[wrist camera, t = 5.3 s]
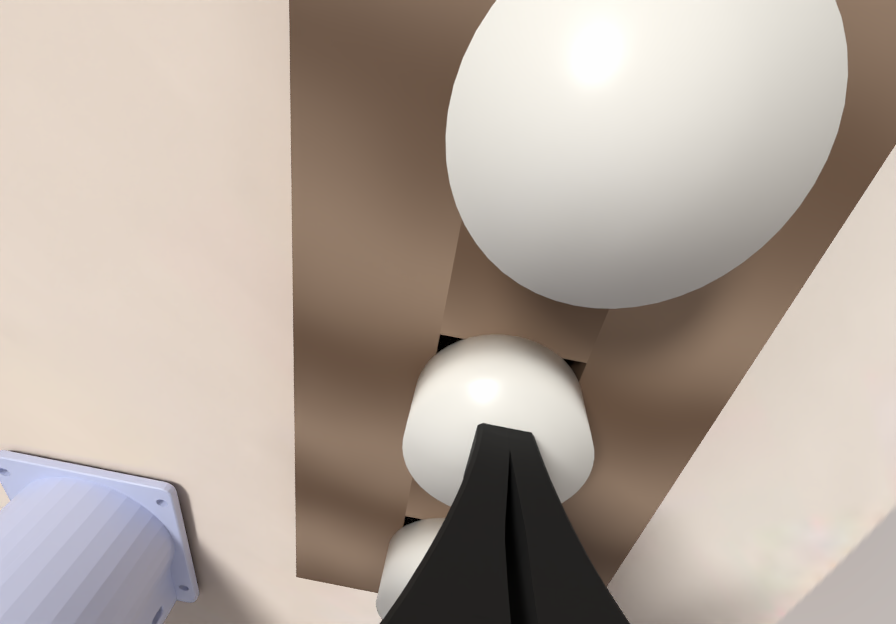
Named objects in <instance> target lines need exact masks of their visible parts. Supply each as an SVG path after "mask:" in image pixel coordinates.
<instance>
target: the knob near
mask: <svg viewBox="0 0 896 624" xmlns="http://www.w3.org/2000/svg"><path fill="white" fill-rule="evenodd" d="M847 79H848V60H847V43H846V38H845V32H844V27H843V22H842V17H841V14H840V12H839V9H838V6H837V3H836V1H835V0H496V2H495V3H494V4H493V5H492V7H491V8H490V10H489V12H488V13H487V15H486V16H485V18H484V19H483V21H482V23H481V24H480V26H479V27H478V29H477V30H476V32H475V34H474V36H473V38H472V40H471V42H470V44H469V46H468V49H467V51H466V53H465V55H464V57H463V59H462V62H461V65H460V68H459V71H458V74H457V76H456V79H455V82H454V85H453V90H452V95H451V99H450V104H449V108H448V115H447V126H446V163H447V169H448V176H449V182H450V186H451V190H452V193H453V197H454V200H455V203H456V206H457V209H458V211H459V213H460V215H461V218H462V220H463V222H464V225H465V226H466V228H467V230H468V231H469V233H470V235H471V236H472V238H473V239H474V241H475V243H476V244H477V245H478V246H479V248H480V249H481V250H482V251H483V253H484V254H485V255H486V256H487V258H488V259H489V260H490V261H491V262H492V263H494V264H495V265H496V266H497V267H498V268H499V269H500V270H501V271H502V272H503V273H504V274H506V275H507V276H509V277H510V278H511V279H513V280H514V281H516V282H517V283H518V284H520V285H522V286H524V287H526V288H527V289H529V290H531V291H533V292H535V293H537V294H539V295H542V296H544V297H547V298H549V299H552V300H555V301H559V302H562V303H566V304H570V305H574V306H581V307H589V308H605V309H618V308H630V307H638V306H644V305H649V304H654V303H659V302H662V301H666V300H669V299H672V298H676V297H679V296H682V295H684V294H686V293H689V292H691V291H694V290H696V289H699V288H701V287H703V286H705V285H707V284H709V283H710V282H712V281H714V280H716V279H718V278H720V277H722V276H723V275H725V274H726V273H728V272H729V271H731V270H733V269H734V268H736V267H737V266H739V265H740V264H742V263H743V262H744V261H746V260H747V259H748V258H749V257H751V256H752V255H753V254H754V253H755V252H757V251H758V250H759V249H760V248H762V247H763V246H764V245H765V244H766V243H767V242H768V241H769V240H770V239H771V238H772V237H773V236H774V235H775V234H776V233H777V232H778V231H779V230H780V229H781V228H782V227H783V226H784V225H785V223H786V222H787V221H788V220H789V219H790V217H791V216H792V215H793V214H794V213H795V211H796V210H797V209H798V208H799V206H800V205H801V203H802V202H803V200H804V199H805V197H806V196H807V194H808V193H809V191H810V190H811V188H812V187H813V185H814V184H815V182H816V180H817V178H818V176H819V174H820V172H821V170H822V169H823V167H824V165H825V163H826V161H827V159H828V156H829V154H830V151H831V149H832V146H833V143H834V141H835V138H836V135H837V133H838V129H839V125H840V121H841V117H842V113H843V109H844V105H845V97H846V88H847Z"/></svg>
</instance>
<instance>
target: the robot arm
mask: <svg viewBox="0 0 896 624" xmlns="http://www.w3.org/2000/svg"><path fill="white" fill-rule="evenodd" d="M0 482H1V484H2V486H3V488H4V490H5V492H6V493H7V495H8V497H9V499H10V502H9V503H8V504H7V505H5V506H4V507H3V508H2V509H1V510H0V624H163V623H164V621H165V619H166V618H167V616H168V614H169V613H170V611H171V609H172V607H173V606H174V604H175V602H176V600H178V601H183V602H190V603H191V602H195V601H196V599H197V598H198V596H199V589H198V584H197V580H196V575H195V571H194V567H193V562H192V558H191V553H190V549H189V544H188V540H187V535H186V531H185V526H184V522H183V518H182V513H181V509H180V504H179V500H178V495H177V491H176V489H175V487H174V486H173V485H171V484H169V483H167V482H164V481H158V480H153V479H148V478H143V477H138V476H133V475H128V474H123V473H118V472H113V471H108V470H103V469H98V468H93V467H88V466H82V465H77V464H72V463H67V462H62V461H57V460H52V459H47V458H42V457H37V456H32V455H27V454H22V453H17V452H11V451H6V450H0ZM380 624H630V623H629V622H628V620H627V619H626V617H625V616H624V614H623V613H622V611H621V609H620V608H619V606H618V605H617V603H616V602H615V600H614V599H613V597H612V596H611V594H610V592H609V591H608V589H607V587H606V586H605V584H604V582H603V581H602V579H601V577H600V576H599V574H598V572H597V571H596V569H595V567H594V566H593V564H592V562H591V560H590V558H589V557H588V555H587V553H586V551H585V549H584V548H583V546H582V544H581V542H580V540H579V538H578V536H577V534H576V532H575V530H574V528H573V526H572V524H571V522H570V520H569V518H568V516H567V514H566V512H565V510H564V508H563V506H562V503H561V501H560V499H559V497H558V495H557V493H556V490H555V488H554V486H553V483H552V481H551V479H550V476H549V474H548V471H547V469H546V467H545V464H544V461H543V459H542V456H541V454H540V451H539V448H538V445H537V443H536V440H535V437H534V435H533V434H532V432H527V431H522V430H516V429H511V428H506V427H501V426H496V425H491V424H486V423H481V424H479V425H477V429H476V432H475V436H474V440H473V443H472V447H471V450H470V454H469V458H468V461H467V465H466V468H465V472H464V476H463V481H462V483H461V486H460V488H459V490H458V493H457V495H456V497H455V499H454V501H453V503H452V505H451V507H450V509H449V511H448V514H447V516H446V518H445V520H444V522H443V523H442V525H441V527H440V529H439V531H438V533H437V535H436V537H435V538H434V540H433V542H432V544H431V545H430V547H429V549H428V551H427V552H426V554H425V556H424V557H423V559H422V561H421V562H420V564H419V566H418V567H417V569H416V570H415V572H414V574H413V575H412V577H411V579H410V580H409V582H408V583H407V585H406V586H405V588H404V589H403V591H402V592H401V594H400V595H399V597H398V598H397V600H396V601H395V603H394V604H393V606H392V607H391V608H390V610H389V611H388V613H387V614H386V616H385V617H384V618H383V620H382V621H381V623H380Z"/></svg>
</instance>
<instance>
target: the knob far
mask: <svg viewBox="0 0 896 624" xmlns="http://www.w3.org/2000/svg"><path fill="white" fill-rule="evenodd" d="M444 520H445V518H432V519H424V520H423V519H420V520H419V521H416V522H413V523H410V524H408V525H406V526H404V527H403V528H401V529H400V530H398V531H397V532H396V533H395V534H394V535H393V537H392V538H391V540H390V543H389V547H388V551H387V556H386V560H385V564H384V569H383V573H382V578H381V582H380V587H379V591H378V596H377V600H376V607H377V611H378V613H379V616H380V617H381V619H382V620H383V618H384V617H385V616H386V614H387V613H388V611H389V610H390V608H391V607H392V606H393V604H394V603H395V601H396V600H397V598H398V597H399V595H400V594H401V592H402V591H403V589H404V588H405V586H406V585H407V583H408V582H409V580H410V579H411V577H412V575H413V574H414V572H415V570H416V569H417V567H418V566H419V564H420V562H421V561H422V559H423V557H424V556H425V554H426V552H427V551H428V549H429V547H430V545H431V544H432V542H433V540H434V538H435V537H436V535H437V533H438V531H439V529H440V527H441V525H442V523H443V522H444Z"/></svg>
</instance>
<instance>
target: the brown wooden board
mask: <svg viewBox="0 0 896 624" xmlns="http://www.w3.org/2000/svg"><path fill="white" fill-rule="evenodd" d="M835 1H836V3H837V6H838V9H839V12H840V14H841V17H842V22H843V27H844V32H845V38H846V43H847V60H848V79H847V88H846V97H845V105H844V109H843V113H842V117H841V121H840V125H839V129H838V133H837V135H836V138H835V141H834V143H833V146H832V149H831V151H830V154H829V156H828V159H827V161H826V163H825V165H824V167H823V169H822V170H821V172H820V174H819V176H818V178H817V180H816V182H815V184H814V185H813V187H812V188H811V190H810V191H809V193H808V194H807V196H806V197H805V199H804V200H803V202H802V203H801V205H800V206H799V208H798V209H797V210H796V211H795V213H794V214H793V215H792V216H791V217H790V219H789V220H788V221H787V222H786V223H785V225H784V226H783V227H782V228H781V229H780V230H779V231H778V232H777V233H776V234H775V235H774V236H773V237H772V238H771V239H770V240H769V241H768V242H767V243H766V244H765V245H764V246H763V247H762V248H760V249H759V250H758V251H757V252H755V253H754V254H753V255H752V256H751V257H749V258H748V259H747V260H746V261H744V262H743V263H742V264H740V265H739V266H737V267H736V268H734V269H733V270H731V271H729V272H728V273H726V274H725V275H723V276H722V277H720V278H718V279H716V280H714V281H712V282H710V283H709V284H707V285H705V286H703V287H701V288H699V289H696V290H694V291H691V292H689V293H686V294H684V295H682V296H679V297H676V298H672V299H669V300H666V301H662V302H659V303H654V304H649V305H644V306H638V307H630V308H618V309H605V308H589V307H581V306H574V305H570V304H566V303H562V302H559V301H555V300H552V299H549V298H547V297H544V296H542V295H539V294H537V293H535V292H533V291H531V290H529V289H527V288H526V287H524V286H522V285H520V284H518V283H517V282H516V281H514V280H513V279H511V278H510V277H509V276H507V275H506V274H504V273H503V272H502V271H501V270H500V269H499V268H498V267H497V266H496V265H495V264H494V263H492V262H491V261H490V260H489V259H488V258H487V256H486V255H485V254H484V253H483V251H482V250H481V249H480V248H479V246H478V245H477V244H476V243H475V241H474V239H473V238H472V236H471V235H470V233H469V231H468V230H467V228H466V226H465V225H464V222H463V220H462V218H461V215H460V213H459V211H458V209H457V206H456V203H455V200H454V197H453V193H452V190H451V186H450V182H449V176H448V169H447V163H446V126H447V115H448V108H449V104H450V99H451V95H452V90H453V85H454V82H455V79H456V76H457V74H458V71H459V68H460V65H461V62H462V59H463V57H464V55H465V53H466V51H467V49H468V46H469V44H470V42H471V40H472V38H473V36H474V34H475V32H476V30H477V29H478V27H479V26H480V24H481V23H482V21H483V19H484V18H485V16H486V15H487V13H488V12H489V10H490V8H491V7H492V5H493V4H494V3H495V2H496V0H289V19H290V99H291V178H292V258H293V338H294V417H295V497H296V577H299V578H304V579H309V580H314V581H319V582H325V583H330V584H335V585H340V586H345V587H350V588H355V589H360V590H365V591H370V592H375V593H378V591H379V587H380V582H381V578H382V573H383V569H384V564H385V560H386V556H387V551H388V547H389V543H390V540H391V538H392V537H393V535H394V534H395V533H396V532H397V531H398V530H400V529H401V528H403V527H404V522H405V516H408V517H413V518H418V519H423V520H424V519H432V518H446V516H447V514H448V511H449V509H450V507H451V506H448V505H446V504H444V503H442V502H441V501H439V500H437V499H436V498H434V497H433V496H431V495H430V494H428V493H427V492H426V491H425V490H424V489H423V488H422V487H421V486H420V485H419V484H418V483H417V482H416V481H415V480H414V478H413V477H412V475H411V474H410V472H409V470H408V468H407V466H406V463H405V460H404V457H403V449H402V445H403V437H404V433H405V429H406V424H407V420H408V416H409V412H410V408H411V404H412V400H413V396H414V392H415V388H416V384H417V380H418V378H419V376H420V373H421V371H422V370H423V368H424V367H425V365H426V364H427V363H428V362H429V361H430V359H431V358H432V357H433V356H435V355H436V354H437V350H438V345H439V340H440V335H441V334H442V335H447V336H452V337H457V338H462V339H467V338H470V337H475V336H481V335H493V334H494V335H510V336H517V337H521V338H525V339H529V340H531V341H534V342H537V343H539V344H541V345H543V346H545V347H547V348H549V349H550V350H552V351H553V352H555V353H556V354H558V355H559V356H560V357H561V358H563V360H564V361H566V363H567V364H568V365H569V366H570V367H571V369H572V370H573V372H574V373H575V375H576V377H577V379H578V382H579V384H580V387H581V392H582V396H583V401H584V405H585V410H586V414H587V418H588V423H589V427H590V432H591V436H592V441H593V446H594V462H593V467H592V470H591V472H590V475H589V477H588V478H587V480H586V482H585V483H584V485H583V486H582V487H581V488H580V489H579V490H578V491H577V492H576V493H575V494H574V495H573V496H572V497H570V498H569V499H567V500H566V501H565V502H563V503H562V506H563V508H564V510H565V512H566V514H567V516H568V518H569V520H570V522H571V524H572V526H573V528H574V530H575V532H576V534H577V536H578V538H579V540H580V542H581V544H582V546H583V548H584V549H585V551H586V553H587V555H588V557H589V558H590V560H591V562H592V564H593V566H594V567H595V569H596V571H597V572H598V574H599V576H600V577H601V579H602V581H603V582H604V584H605V586H606V587H607V585H608V584H609V582H610V581H611V579H612V577H613V576H614V574H615V573H616V571H617V570H618V568H619V567H620V565H621V564H622V562H623V561H624V559H625V558H626V556H627V555H628V553H629V551H630V550H631V548H632V547H633V545H634V544H635V542H636V541H637V539H638V538H639V536H640V535H641V533H642V532H643V530H644V529H645V527H646V525H647V524H648V522H649V521H650V519H651V518H652V516H653V515H654V513H655V512H656V510H657V509H658V507H659V506H660V504H661V503H662V501H663V499H664V498H665V496H666V495H667V493H668V492H669V490H670V489H671V487H672V486H673V484H674V483H675V481H676V480H677V478H678V477H679V475H680V473H681V472H682V470H683V469H684V467H685V466H686V464H687V463H688V461H689V460H690V458H691V457H692V455H693V454H694V452H695V451H696V449H697V447H698V446H699V444H700V443H701V441H702V440H703V438H704V437H705V435H706V434H707V432H708V431H709V429H710V428H711V426H712V425H713V423H714V421H715V420H716V418H717V417H718V415H719V414H720V412H721V411H722V409H723V408H724V406H725V405H726V403H727V402H728V400H729V399H730V397H731V395H732V394H733V392H734V391H735V389H736V388H737V386H738V385H739V383H740V382H741V380H742V379H743V377H744V376H745V374H746V373H747V371H748V369H749V368H750V366H751V365H752V363H753V362H754V360H755V359H756V357H757V356H758V354H759V353H760V351H761V350H762V348H763V347H764V345H765V343H766V342H767V340H768V339H769V337H770V336H771V334H772V333H773V331H774V330H775V328H776V327H777V325H778V324H779V322H780V321H781V319H782V317H783V316H784V314H785V313H786V311H787V310H788V308H789V307H790V305H791V304H792V302H793V301H794V299H795V298H796V296H797V295H798V293H799V291H800V290H801V288H802V287H803V285H804V284H805V282H806V281H807V279H808V278H809V276H810V275H811V273H812V272H813V270H814V269H815V267H816V265H817V264H818V262H819V261H820V259H821V258H822V256H823V255H824V253H825V252H826V250H827V249H828V247H829V246H830V244H831V243H832V241H833V239H834V238H835V236H836V235H837V233H838V232H839V230H840V229H841V227H842V226H843V224H844V223H845V221H846V220H847V218H848V217H849V215H850V213H851V212H852V210H853V209H854V207H855V206H856V204H857V203H858V201H859V200H860V198H861V197H862V195H863V194H864V192H865V191H866V189H867V187H868V186H869V184H870V183H871V181H872V180H873V178H874V177H875V175H876V174H877V172H878V171H879V169H880V168H881V166H882V165H883V163H884V161H885V160H886V158H887V157H888V155H889V154H890V152H891V151H892V149H893V148H894V146H895V145H896V0H835Z"/></svg>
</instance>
